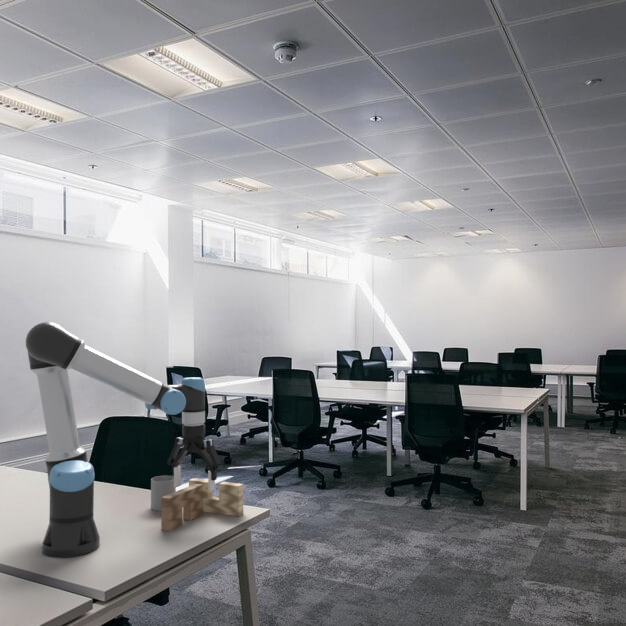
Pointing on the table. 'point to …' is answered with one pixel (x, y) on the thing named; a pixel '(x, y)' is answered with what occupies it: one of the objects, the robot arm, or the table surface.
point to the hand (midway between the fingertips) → (194, 488)
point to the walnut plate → (181, 506)
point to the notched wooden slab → (222, 498)
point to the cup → (161, 490)
